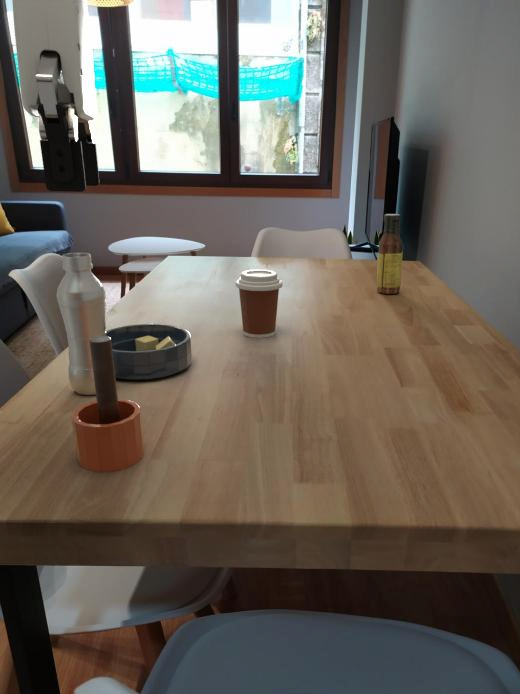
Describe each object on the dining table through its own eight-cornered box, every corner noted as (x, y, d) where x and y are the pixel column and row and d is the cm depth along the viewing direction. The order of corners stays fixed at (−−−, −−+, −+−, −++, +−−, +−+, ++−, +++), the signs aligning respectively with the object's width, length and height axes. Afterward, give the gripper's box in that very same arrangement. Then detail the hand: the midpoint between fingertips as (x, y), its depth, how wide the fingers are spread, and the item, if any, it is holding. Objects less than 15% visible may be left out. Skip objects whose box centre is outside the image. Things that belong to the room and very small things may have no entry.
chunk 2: (170, 340, 89) (168, 335, 91) (156, 350, 89) (155, 346, 91) (180, 353, 90) (179, 348, 93) (167, 363, 90) (166, 358, 92)
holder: (74, 478, 59) (66, 429, 57) (84, 446, 65) (77, 400, 63) (142, 472, 60) (138, 424, 58) (145, 441, 67) (141, 396, 64)
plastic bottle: (124, 384, 83) (110, 251, 75) (104, 402, 77) (86, 260, 69) (85, 381, 84) (67, 249, 76) (62, 399, 78) (39, 258, 70)
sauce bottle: (404, 292, 144) (412, 214, 137) (391, 296, 140) (398, 216, 132) (383, 288, 148) (390, 212, 141) (370, 292, 144) (376, 214, 136)
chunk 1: (134, 338, 93) (148, 335, 95) (136, 354, 94) (149, 350, 96) (144, 342, 91) (158, 338, 93) (146, 358, 92) (159, 354, 94)
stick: (102, 460, 61) (87, 342, 56) (105, 450, 63) (90, 336, 58) (122, 458, 62) (109, 342, 56) (124, 449, 64) (112, 335, 58)
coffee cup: (249, 342, 103) (248, 279, 98) (228, 329, 110) (227, 270, 106) (290, 335, 107) (291, 275, 103) (268, 324, 115) (268, 267, 110)
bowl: (92, 385, 82) (88, 354, 81) (103, 352, 96) (100, 325, 94) (193, 379, 85) (191, 349, 83) (190, 348, 99) (188, 322, 97)
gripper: (27, -8, 52) (51, 183, 58) (-36, -78, 36) (8, 193, 43) (108, -1, 53) (124, 184, 60) (83, -66, 38) (107, 194, 44)
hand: (75, 187), depth 51 cm, fingers open, 9 cm apart
